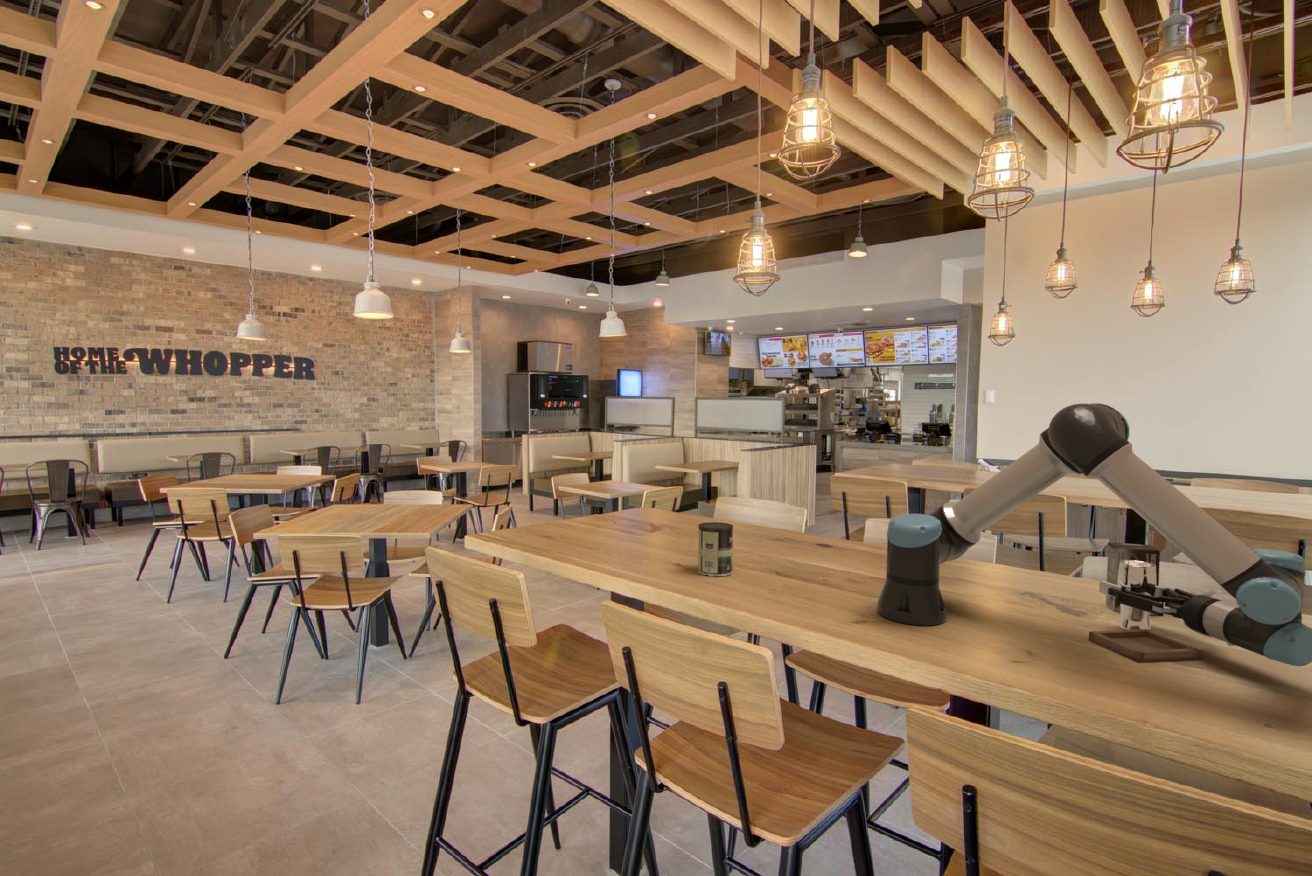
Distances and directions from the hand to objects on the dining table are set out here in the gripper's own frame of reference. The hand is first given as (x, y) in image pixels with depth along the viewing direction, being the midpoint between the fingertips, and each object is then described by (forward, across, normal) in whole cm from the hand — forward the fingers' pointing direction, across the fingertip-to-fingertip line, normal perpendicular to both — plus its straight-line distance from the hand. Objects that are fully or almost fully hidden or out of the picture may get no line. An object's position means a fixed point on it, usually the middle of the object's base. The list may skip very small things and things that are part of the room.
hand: (1118, 585), depth 147 cm
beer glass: (-5, 0, -9) cm, 10 cm away
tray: (-16, -9, -8) cm, 20 cm away
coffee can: (+51, -84, -9) cm, 99 cm away
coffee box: (+7, +11, -9) cm, 16 cm away
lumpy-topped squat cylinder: (-7, +18, -9) cm, 22 cm away
